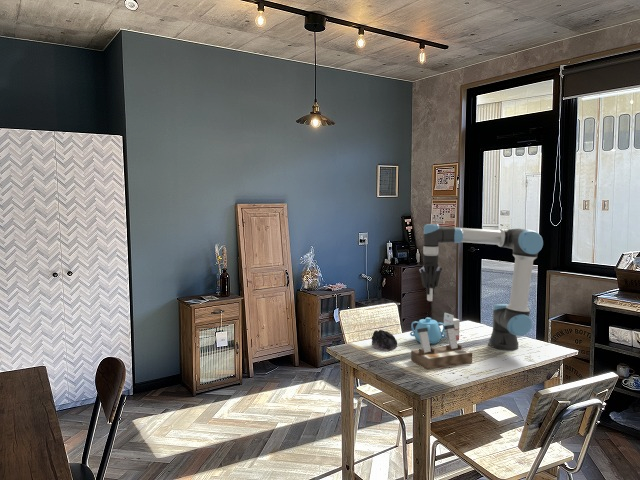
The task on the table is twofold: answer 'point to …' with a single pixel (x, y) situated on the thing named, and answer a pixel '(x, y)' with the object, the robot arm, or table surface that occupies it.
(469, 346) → the table surface
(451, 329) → the lever
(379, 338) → the black rock
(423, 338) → the lever
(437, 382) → the table surface
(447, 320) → the ink cartridge box
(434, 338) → the decorative pot
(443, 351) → the switch unit
